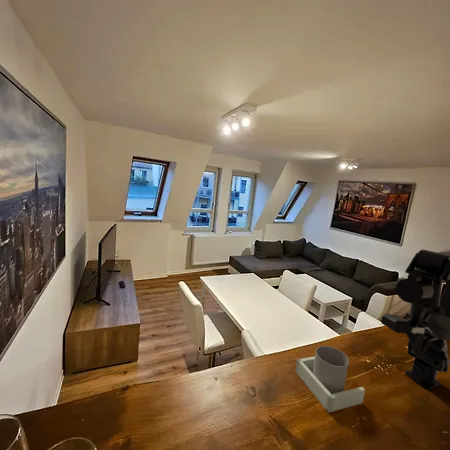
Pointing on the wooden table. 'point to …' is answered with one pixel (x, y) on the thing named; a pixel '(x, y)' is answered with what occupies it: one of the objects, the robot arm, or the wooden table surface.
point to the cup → (331, 368)
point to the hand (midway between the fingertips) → (418, 357)
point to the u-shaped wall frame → (321, 393)
